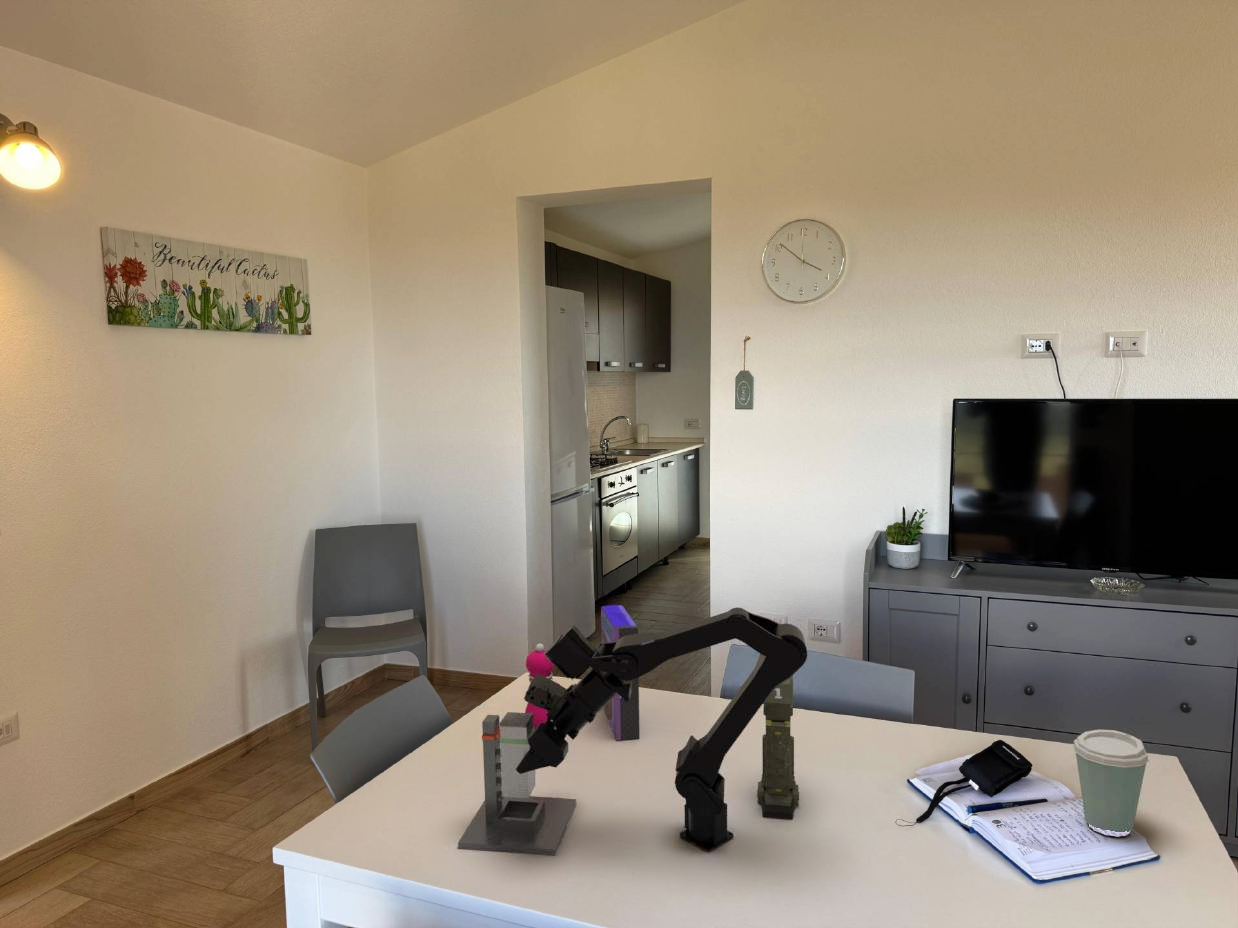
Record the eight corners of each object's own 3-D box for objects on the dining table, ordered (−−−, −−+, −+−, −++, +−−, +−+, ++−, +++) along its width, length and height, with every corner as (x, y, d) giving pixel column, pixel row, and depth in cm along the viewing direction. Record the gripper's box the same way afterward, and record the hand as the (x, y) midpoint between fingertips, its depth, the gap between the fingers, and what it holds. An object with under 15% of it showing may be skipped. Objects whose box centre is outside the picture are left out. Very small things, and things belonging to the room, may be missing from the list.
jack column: (535, 784, 143) (533, 713, 141) (528, 798, 138) (526, 724, 137) (509, 783, 143) (507, 711, 142) (501, 796, 139) (499, 722, 138)
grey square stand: (576, 804, 148) (574, 703, 146) (555, 855, 132) (552, 742, 130) (489, 798, 151) (485, 699, 149) (458, 848, 135) (454, 737, 133)
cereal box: (603, 708, 190) (601, 605, 188) (623, 707, 191) (622, 604, 189) (616, 741, 173) (615, 628, 171) (639, 739, 174) (637, 626, 172)
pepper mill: (520, 732, 178) (517, 641, 176) (552, 726, 181) (550, 636, 179) (531, 745, 172) (528, 651, 170) (564, 739, 175) (562, 645, 173)
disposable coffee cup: (1113, 851, 131) (1117, 759, 129) (1054, 818, 141) (1057, 732, 139) (1160, 836, 135) (1164, 746, 133) (1099, 805, 145) (1103, 721, 143)
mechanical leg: (799, 826, 138) (800, 640, 142) (755, 822, 139) (756, 638, 143) (798, 804, 151) (799, 635, 155) (758, 801, 153) (759, 633, 157)
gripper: (565, 644, 147) (507, 702, 149) (539, 682, 128) (473, 748, 131) (611, 689, 146) (551, 747, 149) (591, 734, 128) (523, 799, 131)
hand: (525, 758), depth 140 cm, fingers open, 9 cm apart
